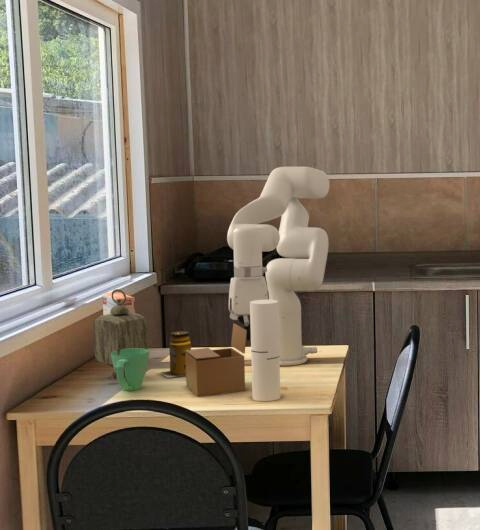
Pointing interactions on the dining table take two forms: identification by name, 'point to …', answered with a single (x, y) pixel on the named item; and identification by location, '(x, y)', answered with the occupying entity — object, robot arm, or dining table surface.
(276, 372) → the cylindrical container
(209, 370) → the carton
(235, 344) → the flap
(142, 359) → the mug
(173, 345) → the condiment
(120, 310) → the tabletop clock
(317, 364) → the dining table surface
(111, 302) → the cracker box
